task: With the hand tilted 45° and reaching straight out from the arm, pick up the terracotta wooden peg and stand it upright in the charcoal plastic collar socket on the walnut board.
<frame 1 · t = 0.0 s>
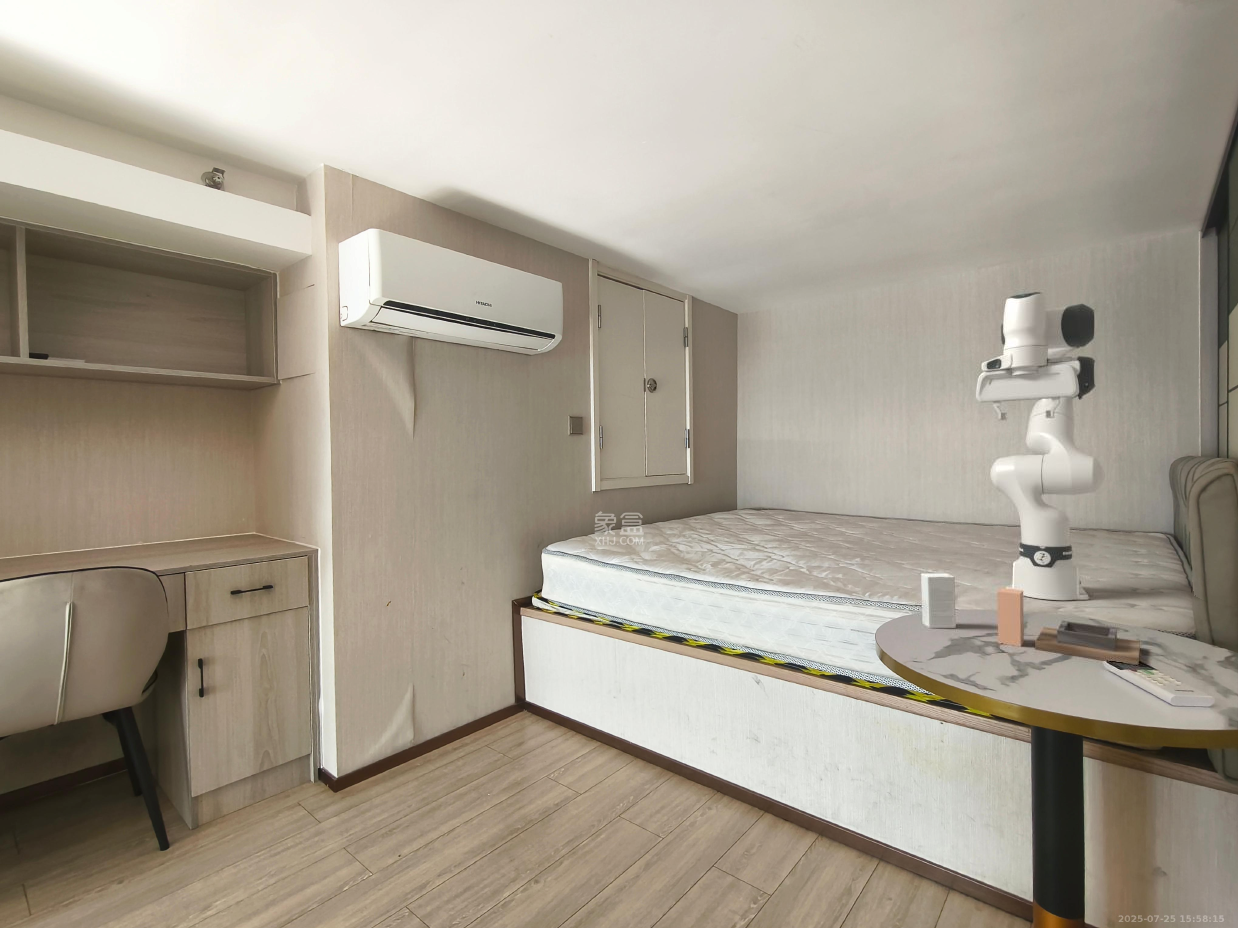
hand: (1025, 419, 143), 48 cm above the table, tool pointing down, fingers open, 8 cm apart
socket board: (1087, 648, 122), on the table
skincare box: (938, 626, 140), on the table
peg: (1010, 642, 127), on the table
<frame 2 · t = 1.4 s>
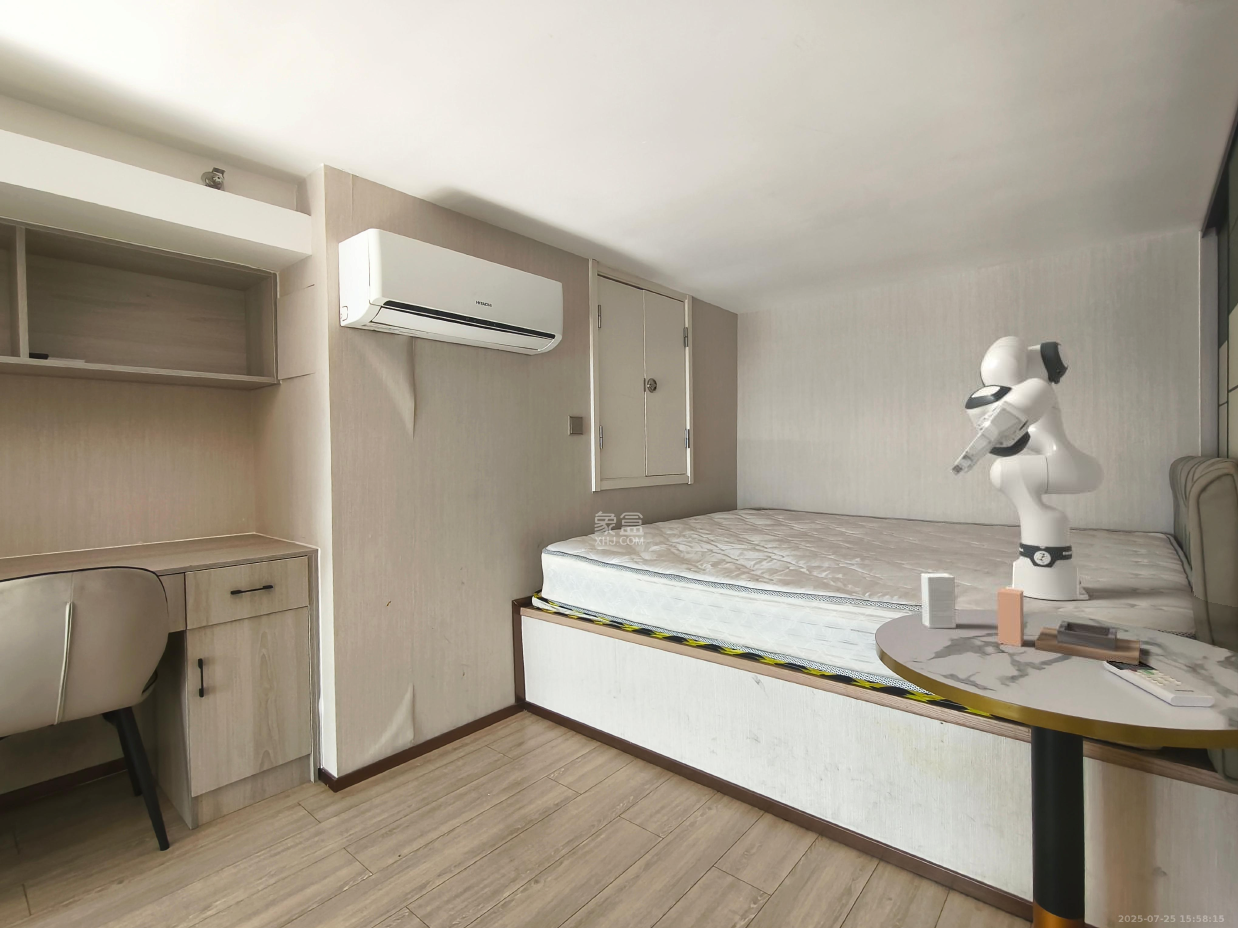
hand: (961, 463, 138), 38 cm above the table, tool tilted 55°, fingers open, 8 cm apart
nothing on the table moved.
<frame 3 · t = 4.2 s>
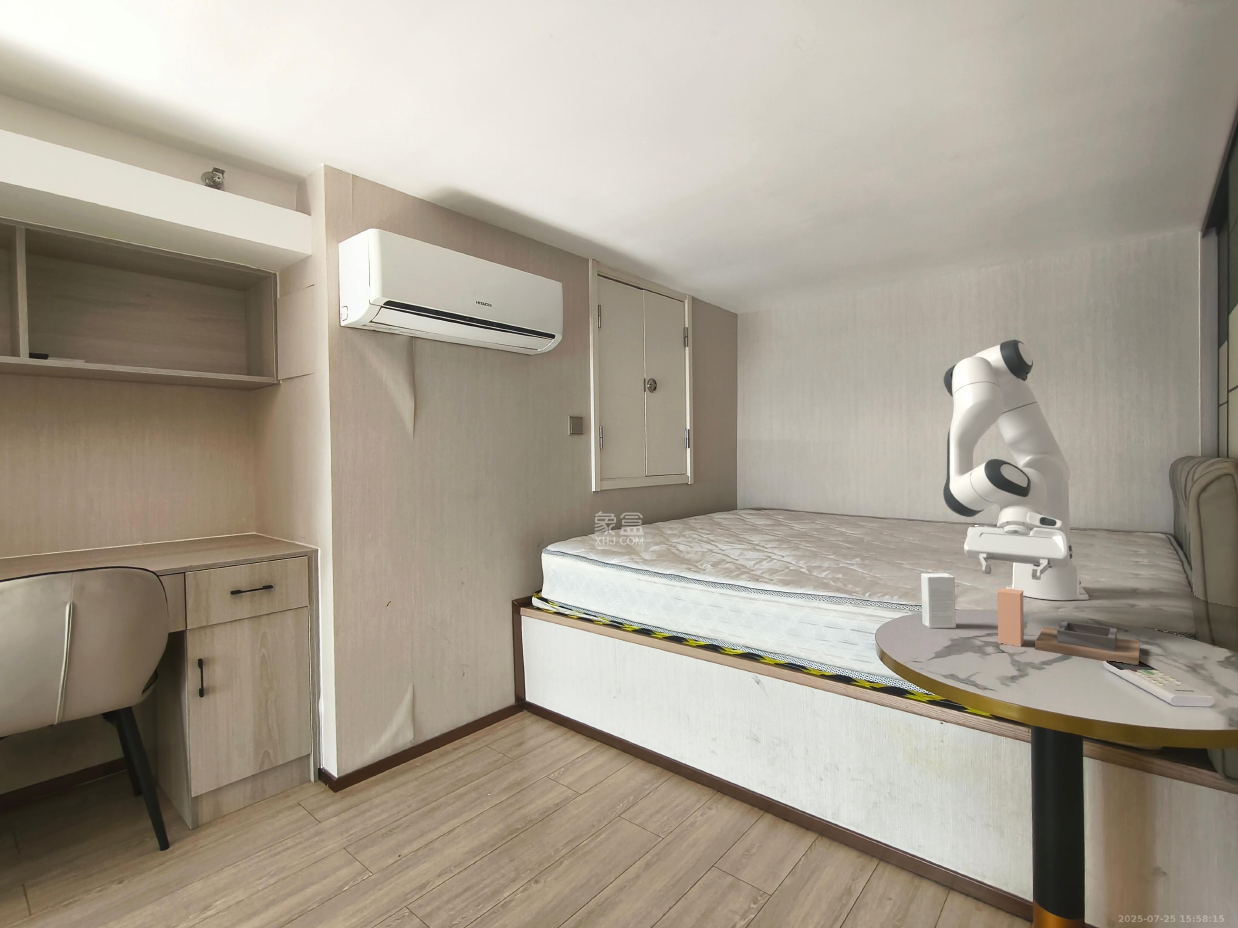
hand: (1010, 575, 134), 13 cm above the table, tool tilted 45°, fingers open, 8 cm apart
nothing on the table moved.
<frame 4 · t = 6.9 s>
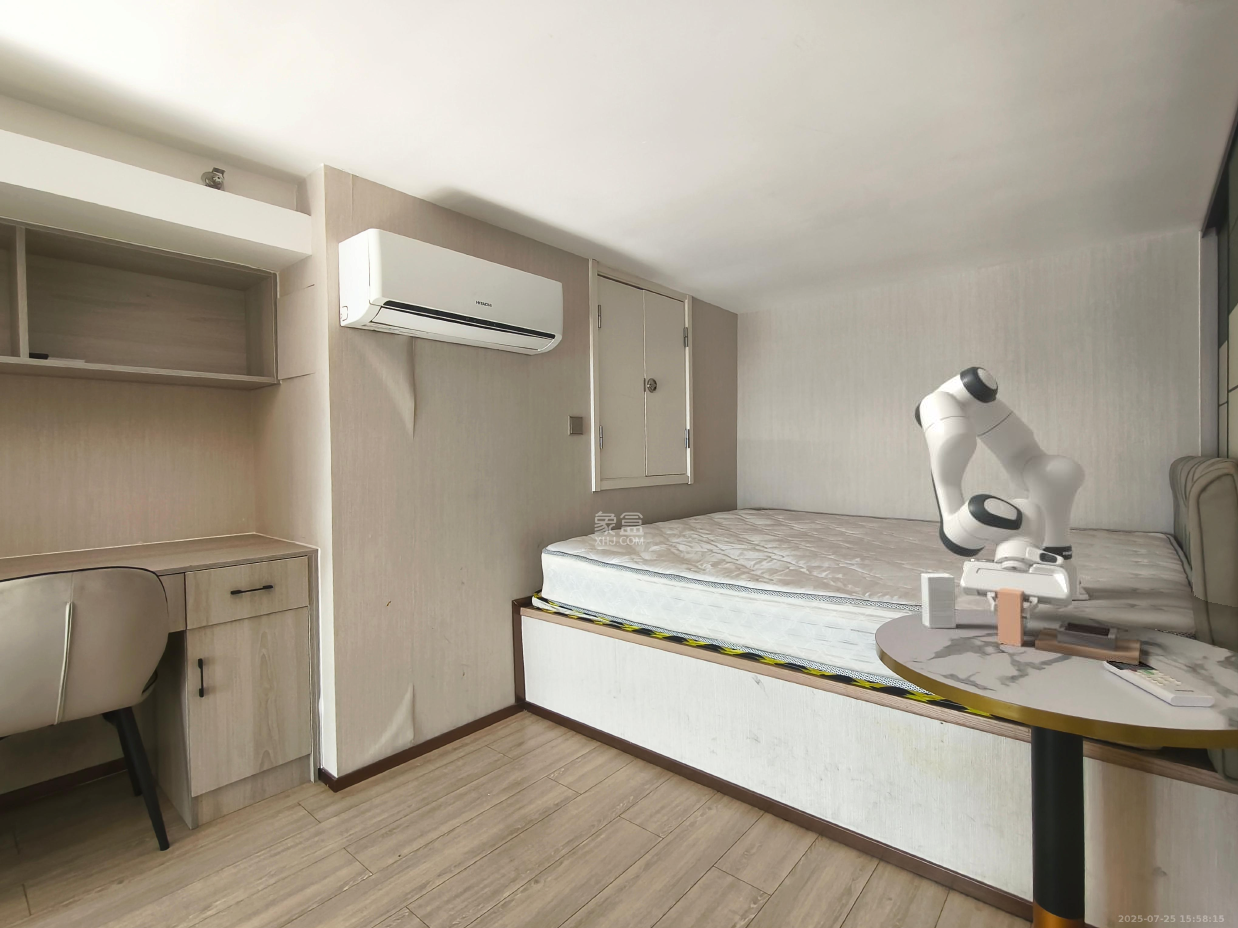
hand: (1010, 615, 127), 6 cm above the table, tool tilted 45°, fingers closed on peg, 4 cm apart
peg: (1010, 642, 127), on the table, touching gripper
everything else where it was.
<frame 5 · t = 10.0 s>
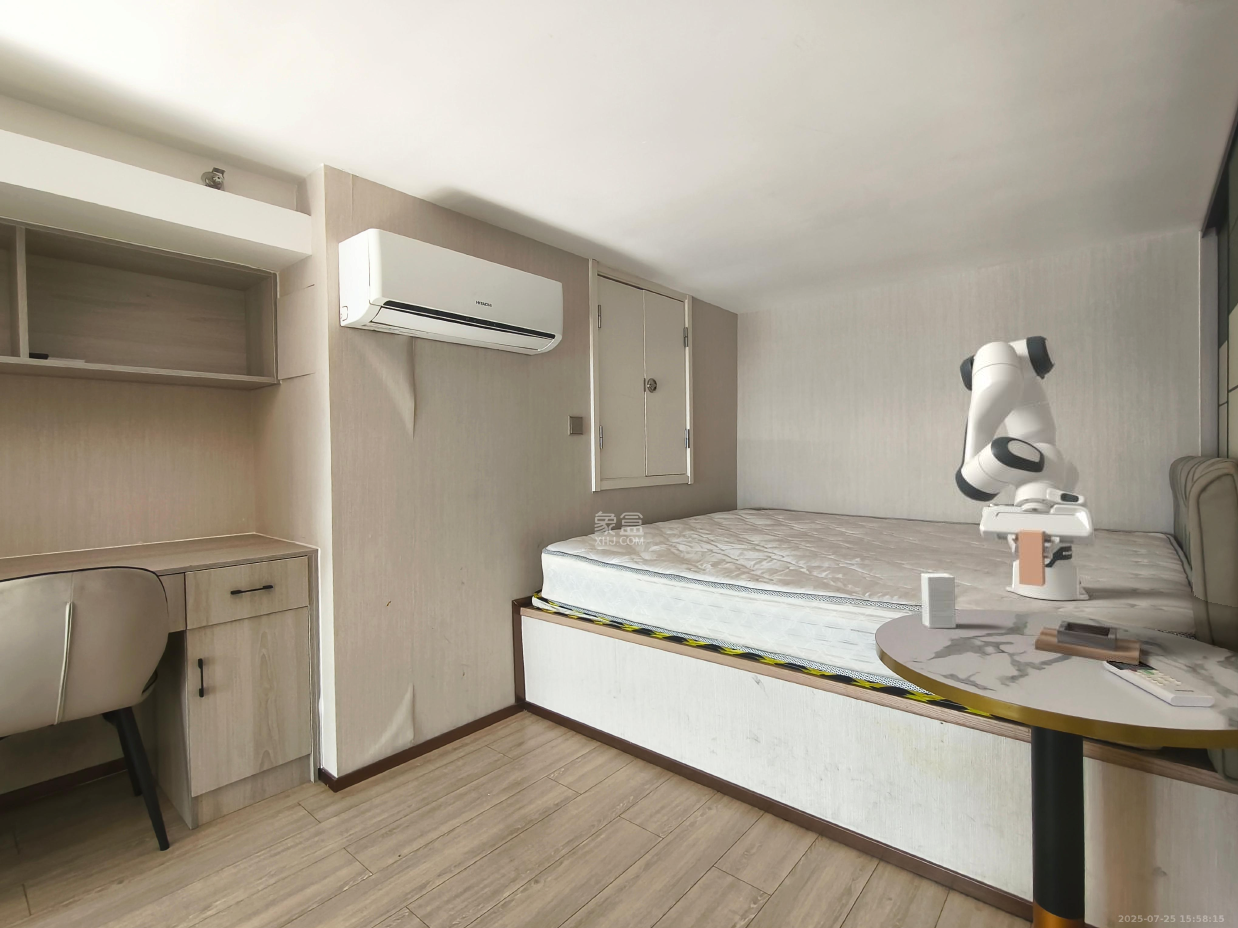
hand: (1031, 555, 125), 19 cm above the table, tool tilted 45°, fingers closed on peg, 4 cm apart
peg: (1032, 583, 126), point 13 cm above the table, touching gripper
everything else where it was.
when the fingers open (8 cm above the table, at t = 13.5 s): peg drops 1 cm, resting on socket board.
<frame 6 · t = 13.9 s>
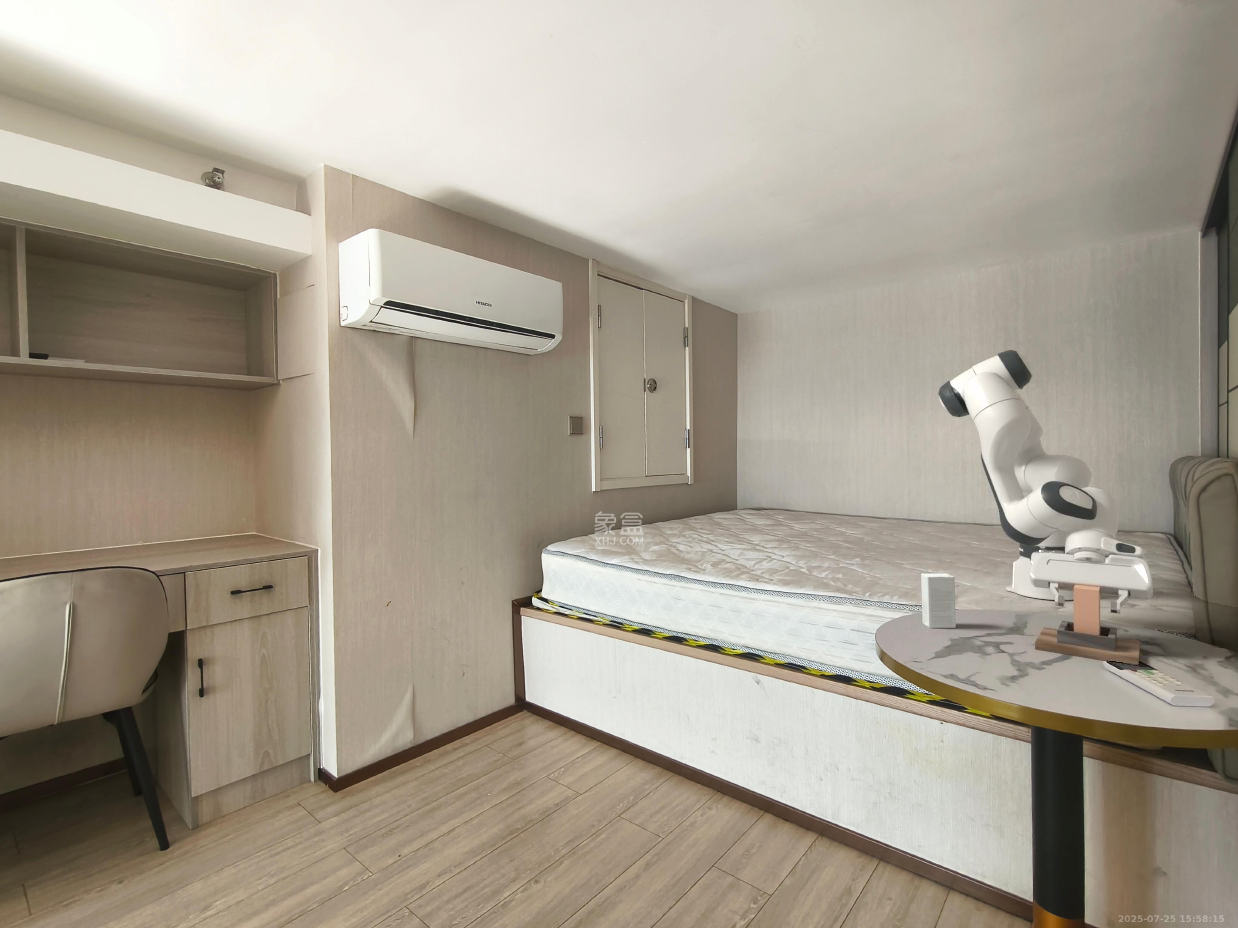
hand: (1086, 608, 122), 8 cm above the table, tool tilted 45°, fingers open, 8 cm apart
peg: (1087, 640, 122), point 2 cm above the table, touching socket board
everything else where it was.
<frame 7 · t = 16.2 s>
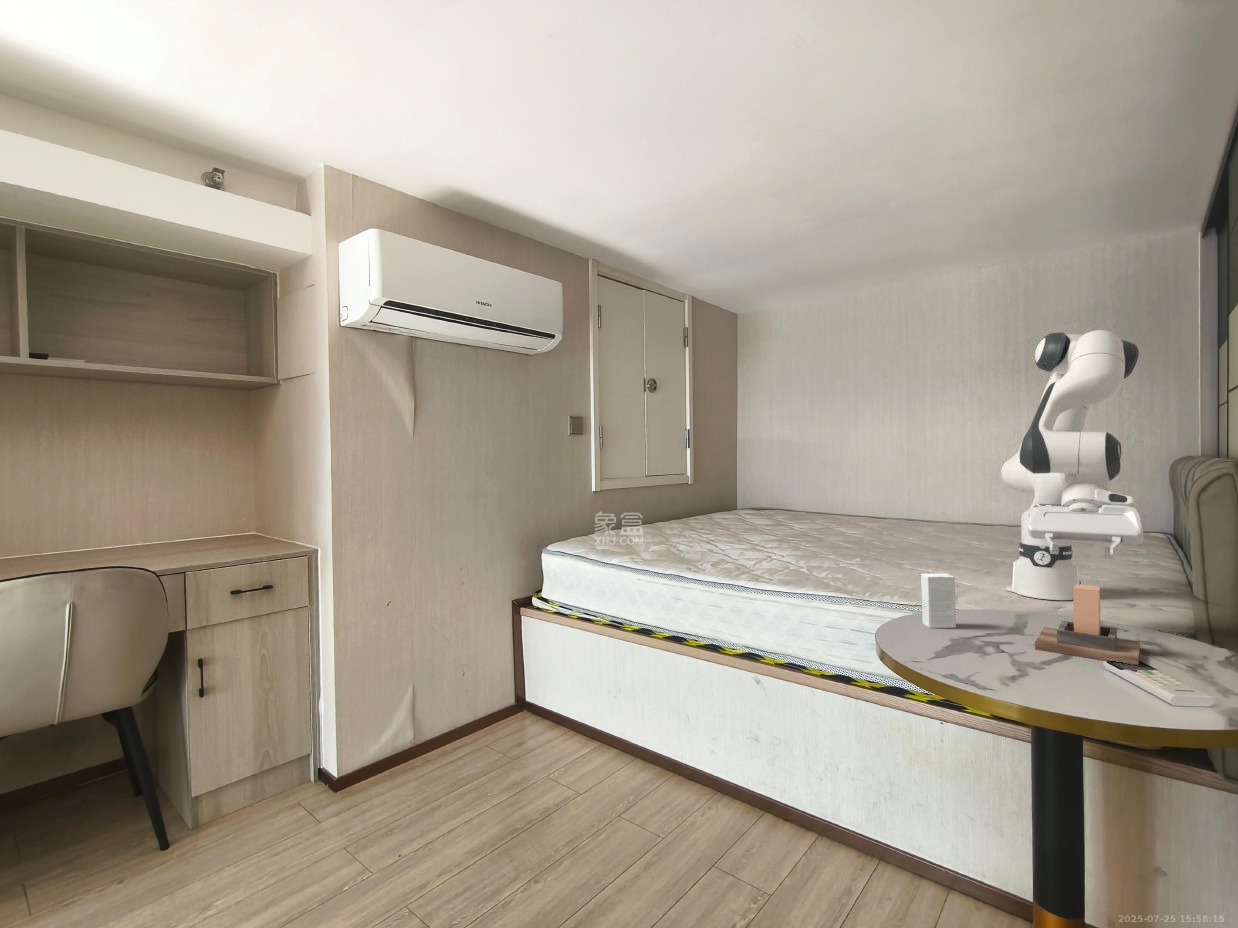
hand: (1080, 554, 129), 18 cm above the table, tool tilted 45°, fingers open, 8 cm apart
nothing on the table moved.
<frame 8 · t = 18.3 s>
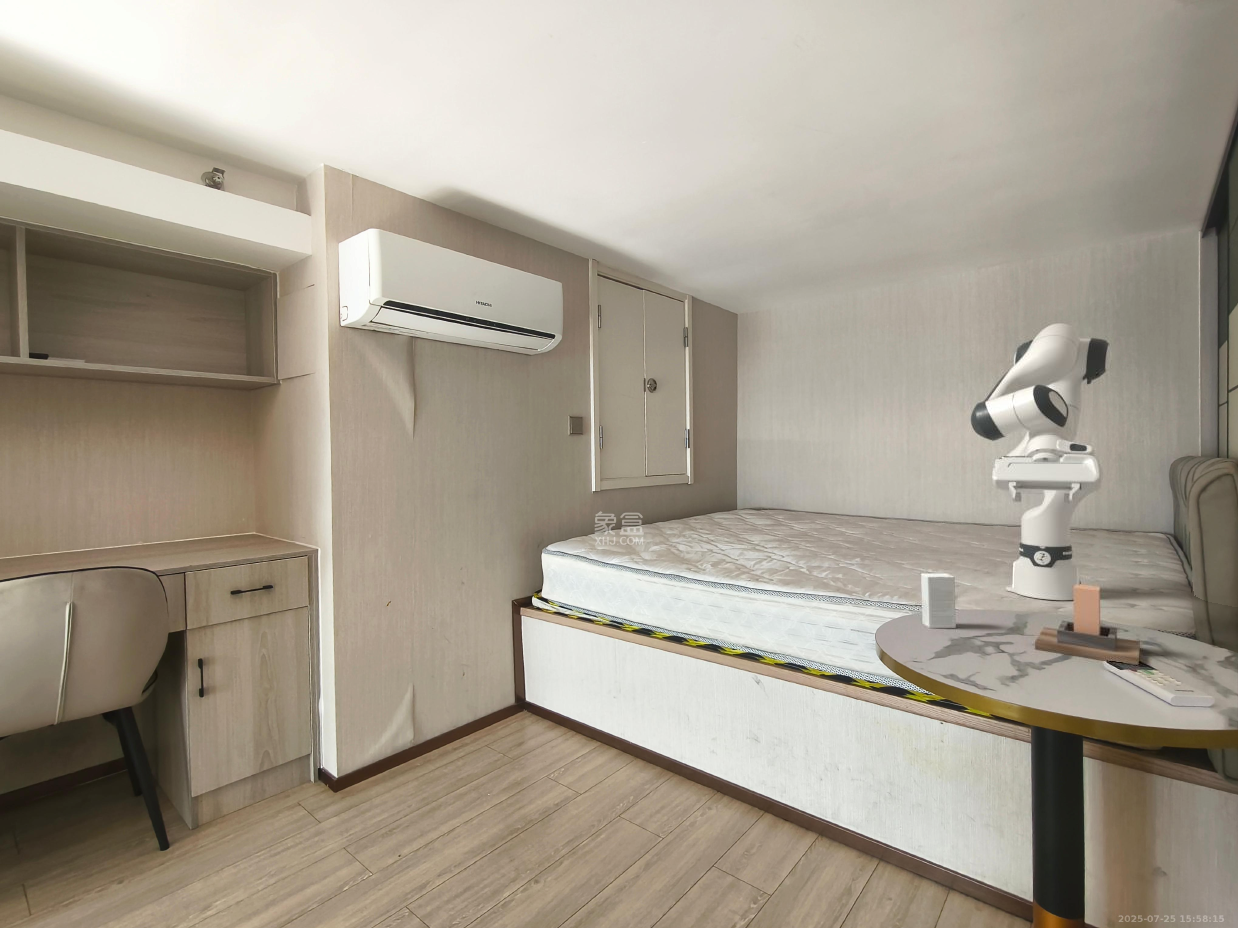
hand: (1041, 501, 133), 29 cm above the table, tool tilted 45°, fingers open, 8 cm apart
nothing on the table moved.
at the end: peg 0.0 cm off-centre on the socket board, point 1.6 cm above the socket board's base; peg tilted 0°; the gripper is holding nothing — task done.
